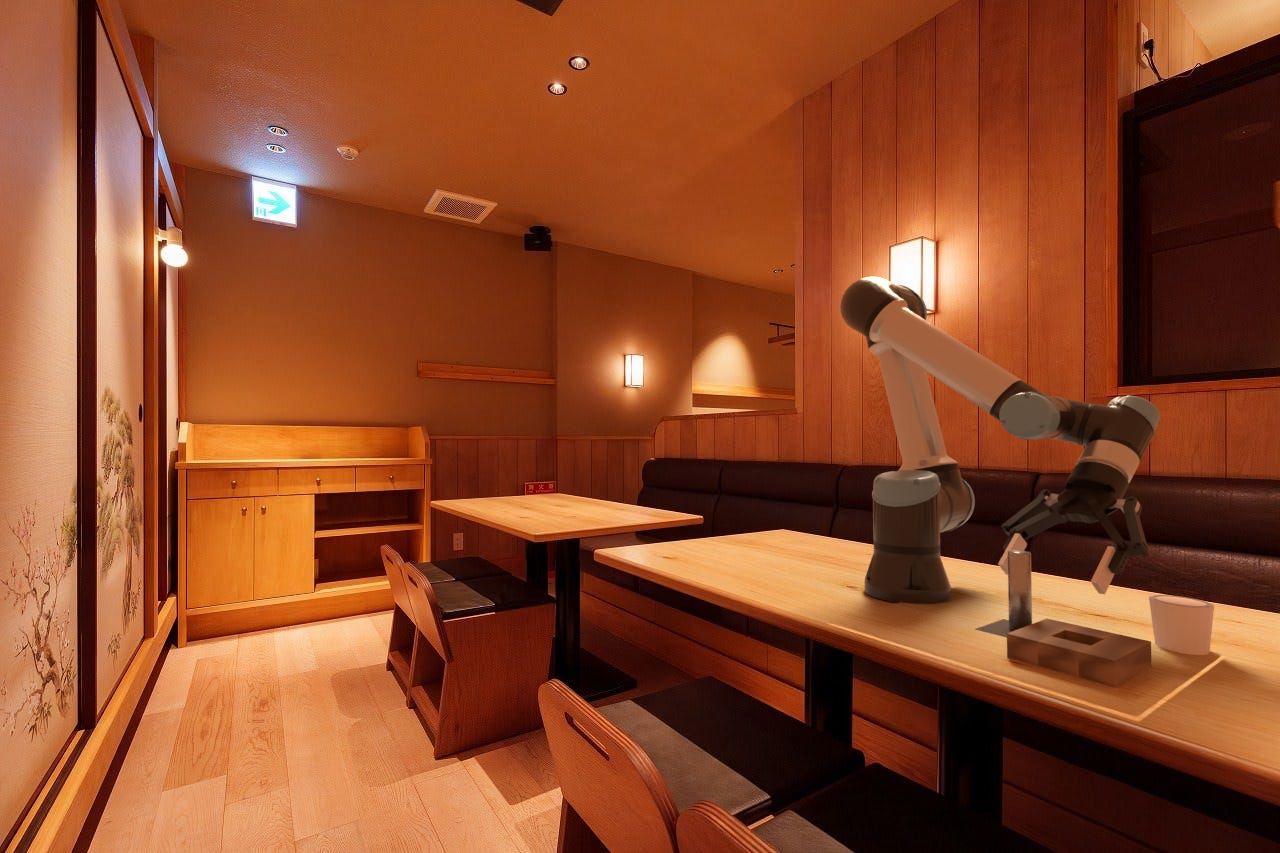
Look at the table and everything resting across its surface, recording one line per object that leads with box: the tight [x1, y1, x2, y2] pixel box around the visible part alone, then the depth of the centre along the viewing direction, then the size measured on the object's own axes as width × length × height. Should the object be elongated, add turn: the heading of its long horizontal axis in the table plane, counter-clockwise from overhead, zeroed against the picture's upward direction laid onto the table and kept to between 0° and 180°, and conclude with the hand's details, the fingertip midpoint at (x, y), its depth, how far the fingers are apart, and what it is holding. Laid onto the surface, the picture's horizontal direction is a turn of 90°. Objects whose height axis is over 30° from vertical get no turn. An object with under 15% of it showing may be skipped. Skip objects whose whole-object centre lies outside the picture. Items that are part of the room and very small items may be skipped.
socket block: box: [1006, 618, 1153, 688], centre depth 79 cm, size 12×12×4 cm
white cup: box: [1148, 594, 1215, 656], centre depth 84 cm, size 7×7×7 cm
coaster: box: [975, 618, 1011, 638], centre depth 91 cm, size 9×9×1 cm
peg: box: [1007, 550, 1033, 632], centre depth 91 cm, size 3×3×12 cm
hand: (1047, 578), depth 91 cm, fingers open, 13 cm apart
